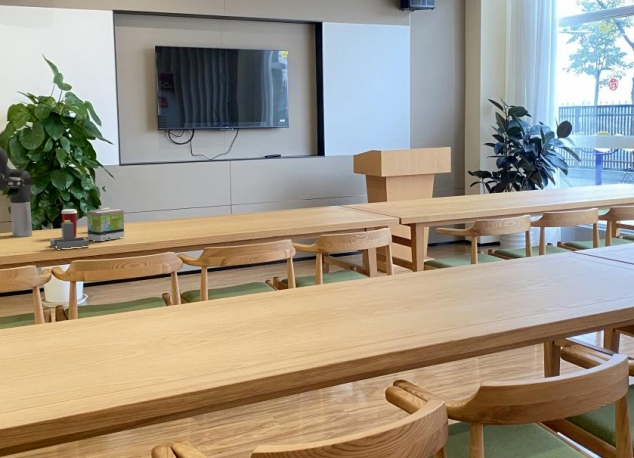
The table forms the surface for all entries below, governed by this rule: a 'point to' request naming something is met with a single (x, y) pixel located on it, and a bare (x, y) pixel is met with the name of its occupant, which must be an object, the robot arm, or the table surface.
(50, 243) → the cable clip
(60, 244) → the end holder
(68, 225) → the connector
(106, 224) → the tea box
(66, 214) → the paper cup
